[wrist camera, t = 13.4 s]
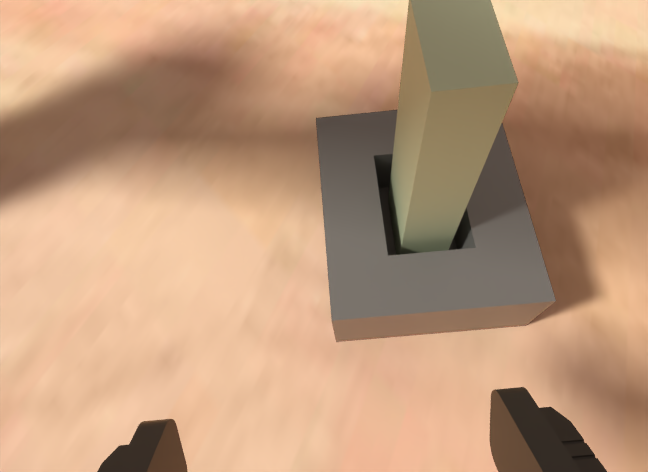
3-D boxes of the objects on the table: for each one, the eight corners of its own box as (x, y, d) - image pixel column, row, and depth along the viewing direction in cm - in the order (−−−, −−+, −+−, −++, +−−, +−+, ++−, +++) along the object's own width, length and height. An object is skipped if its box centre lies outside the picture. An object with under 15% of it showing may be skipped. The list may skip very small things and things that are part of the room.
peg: (397, 265, 30) (431, 91, 16) (388, 200, 33) (409, -5, 18) (443, 261, 30) (518, 82, 16) (430, 196, 32) (486, -13, 18)
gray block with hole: (336, 341, 30) (331, 320, 25) (321, 161, 36) (315, 118, 31) (525, 325, 29) (555, 301, 25) (477, 145, 35) (495, 99, 31)
